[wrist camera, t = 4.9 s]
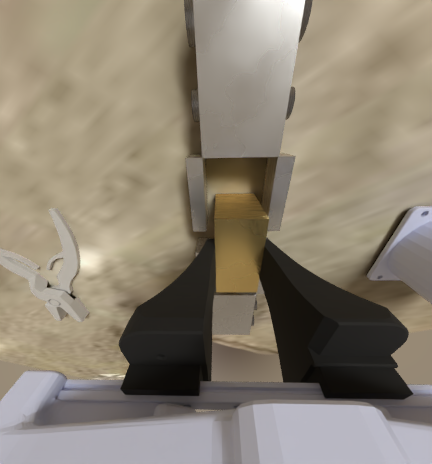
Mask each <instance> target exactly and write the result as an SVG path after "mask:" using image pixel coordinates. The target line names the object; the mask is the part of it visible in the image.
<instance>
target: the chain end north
mask: <svg viewBox="0 0 432 464" xmlns="http://www.w3.org/2000/svg"><path fill="white" fill-rule="evenodd" d="M207 239H209V238H198V243H197V248H196V252H195V253H196V257H197V255H198V254H199V252H200V251H201V249H202V247H203V246H204V244H205V242H206V240H207ZM267 239H268V238H267ZM256 294H264V291H263V288H262V285H261V282H260V279H259V284H258V290H257V292H216V283H215V291H214V300H213V318H212V334H239V335H250V329H251V326H254V316H253V311H254V310H257V300H256Z"/></svg>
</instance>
